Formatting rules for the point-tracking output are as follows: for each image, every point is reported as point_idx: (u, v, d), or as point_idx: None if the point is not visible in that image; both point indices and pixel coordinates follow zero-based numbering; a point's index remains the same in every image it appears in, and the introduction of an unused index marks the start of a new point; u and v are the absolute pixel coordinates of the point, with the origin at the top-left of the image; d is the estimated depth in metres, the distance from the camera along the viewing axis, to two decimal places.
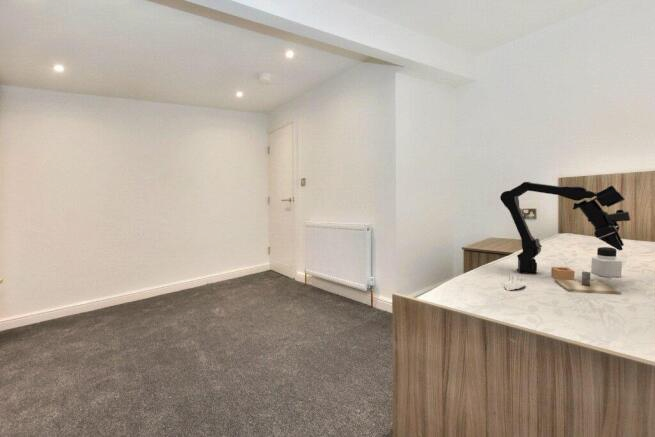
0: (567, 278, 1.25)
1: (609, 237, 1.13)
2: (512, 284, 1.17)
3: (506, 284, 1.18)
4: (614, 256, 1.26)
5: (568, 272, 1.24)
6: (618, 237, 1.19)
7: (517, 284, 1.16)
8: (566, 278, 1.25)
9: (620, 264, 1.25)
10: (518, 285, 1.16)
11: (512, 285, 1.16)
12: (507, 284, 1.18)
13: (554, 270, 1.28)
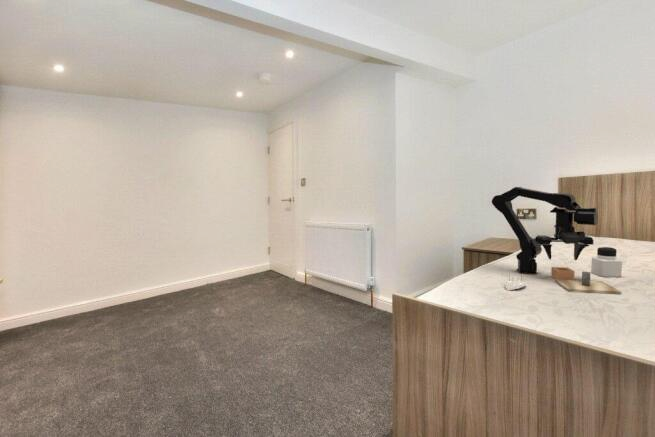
0: (567, 278, 1.25)
1: None
2: (512, 284, 1.17)
3: (506, 284, 1.19)
4: (614, 256, 1.26)
5: (568, 272, 1.24)
6: (576, 252, 1.25)
7: (517, 284, 1.16)
8: (566, 278, 1.25)
9: (620, 264, 1.25)
10: (518, 285, 1.16)
11: (512, 285, 1.16)
12: (507, 284, 1.18)
13: (554, 270, 1.28)
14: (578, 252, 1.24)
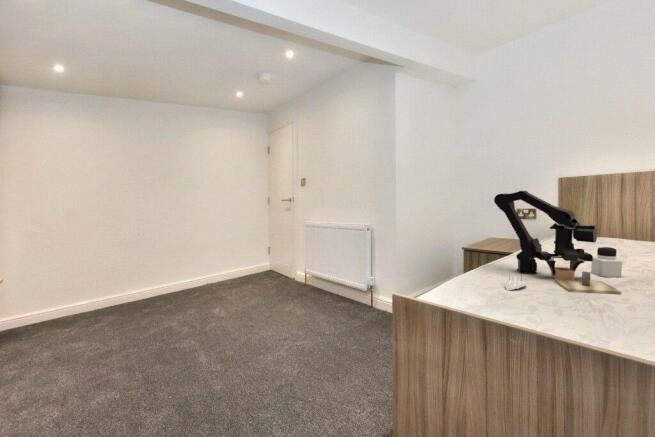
0: (567, 278, 1.25)
1: None
2: (512, 284, 1.17)
3: (506, 284, 1.19)
4: (614, 256, 1.26)
5: (568, 272, 1.24)
6: (572, 268, 1.26)
7: (517, 284, 1.16)
8: (566, 278, 1.25)
9: (620, 264, 1.25)
10: (518, 285, 1.16)
11: (512, 285, 1.17)
12: (507, 284, 1.18)
13: None
14: (574, 268, 1.25)
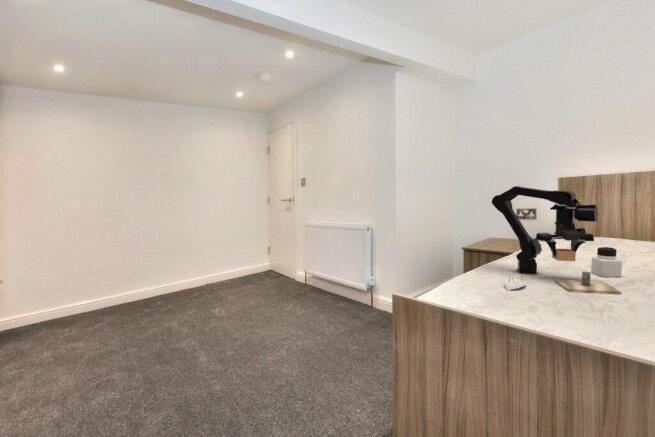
0: (568, 259, 1.24)
1: (551, 243, 1.28)
2: (512, 284, 1.17)
3: (506, 284, 1.19)
4: (614, 256, 1.26)
5: (569, 253, 1.23)
6: (573, 249, 1.25)
7: (517, 284, 1.17)
8: (567, 259, 1.24)
9: (620, 264, 1.25)
10: (518, 285, 1.16)
11: (512, 285, 1.17)
12: (507, 284, 1.18)
13: None
14: (575, 249, 1.24)
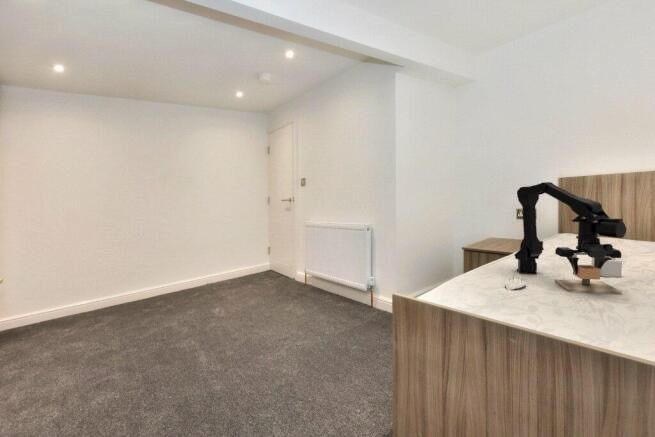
0: (592, 277, 1.12)
1: None
2: (513, 284, 1.17)
3: (507, 284, 1.19)
4: None
5: (593, 270, 1.12)
6: (597, 266, 1.13)
7: (517, 284, 1.17)
8: (591, 277, 1.12)
9: (620, 264, 1.25)
10: (518, 285, 1.17)
11: (513, 285, 1.17)
12: (508, 284, 1.19)
13: None
14: (599, 266, 1.13)
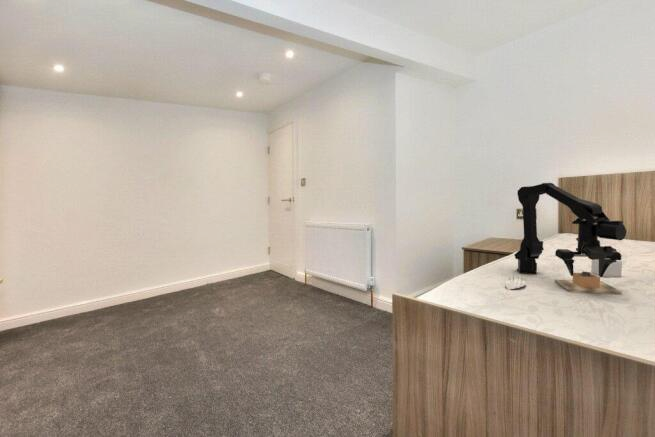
0: (592, 285, 1.12)
1: (568, 261, 1.17)
2: (513, 283, 1.17)
3: (507, 283, 1.19)
4: None
5: (593, 279, 1.12)
6: (602, 268, 1.13)
7: (518, 283, 1.17)
8: (591, 285, 1.12)
9: (620, 264, 1.25)
10: (519, 284, 1.17)
11: (513, 284, 1.17)
12: (508, 283, 1.19)
13: (576, 276, 1.16)
14: (604, 268, 1.12)
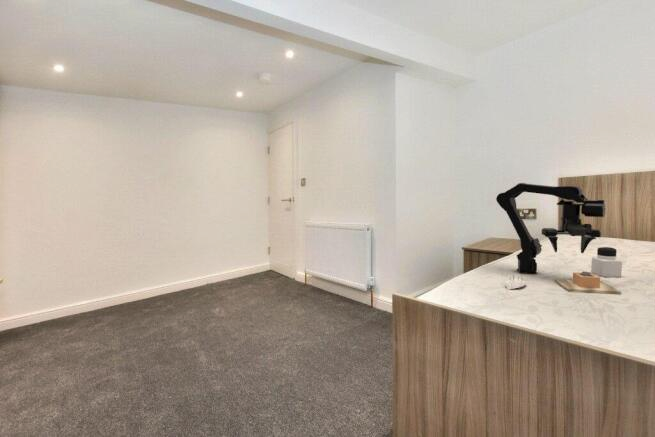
0: (592, 285, 1.12)
1: None
2: (513, 283, 1.18)
3: (507, 283, 1.19)
4: (614, 256, 1.26)
5: (593, 279, 1.12)
6: (583, 245, 1.23)
7: (518, 283, 1.17)
8: (591, 285, 1.12)
9: (620, 264, 1.25)
10: (519, 284, 1.17)
11: (513, 284, 1.17)
12: (508, 283, 1.19)
13: (576, 276, 1.16)
14: (585, 245, 1.23)
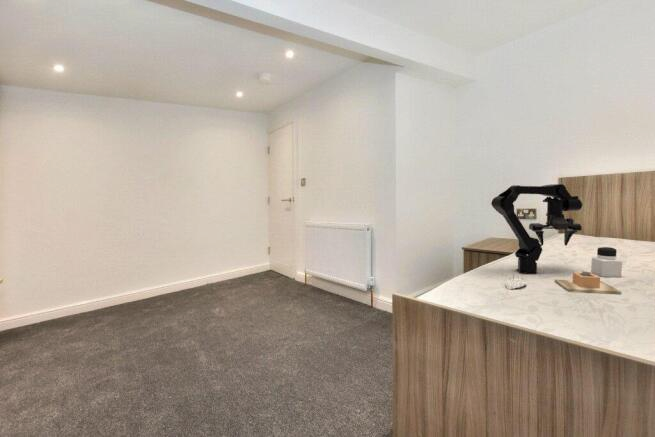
0: (592, 285, 1.12)
1: (539, 232, 1.39)
2: (513, 283, 1.18)
3: (507, 283, 1.20)
4: (614, 256, 1.26)
5: (593, 279, 1.12)
6: (566, 238, 1.35)
7: (518, 283, 1.18)
8: (591, 285, 1.12)
9: (620, 264, 1.25)
10: (519, 284, 1.17)
11: (513, 284, 1.18)
12: (508, 283, 1.19)
13: (576, 276, 1.16)
14: (568, 238, 1.35)
